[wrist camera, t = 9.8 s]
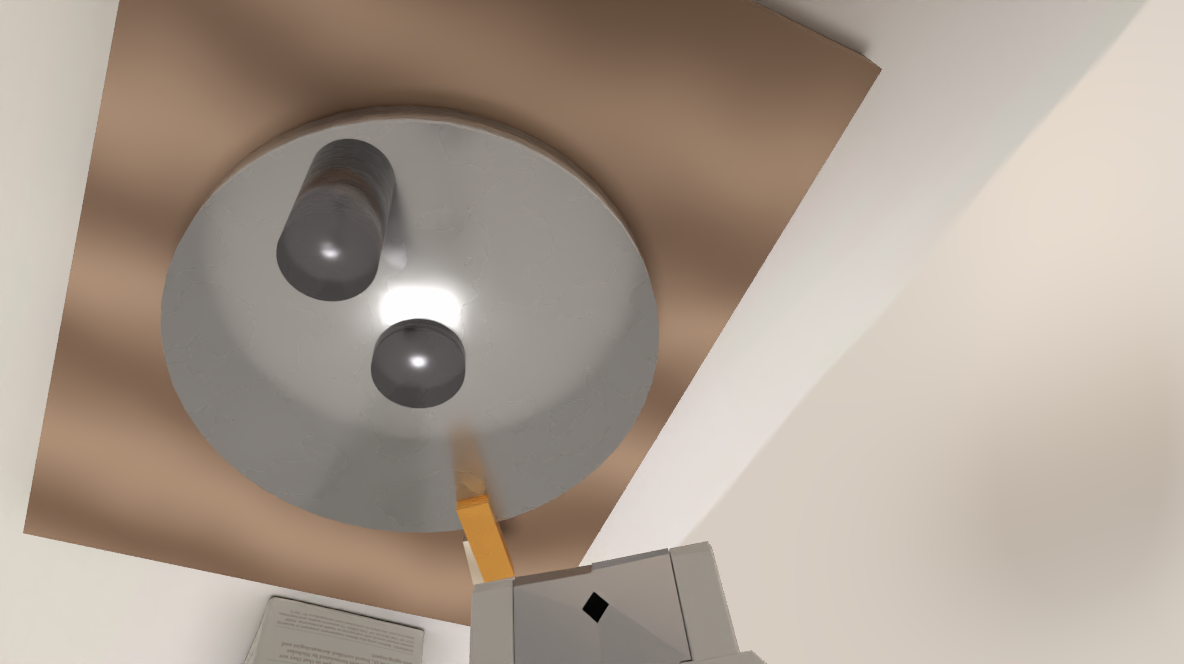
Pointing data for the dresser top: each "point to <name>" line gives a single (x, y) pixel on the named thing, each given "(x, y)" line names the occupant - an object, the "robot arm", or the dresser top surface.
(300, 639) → the supplement box
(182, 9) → the base board
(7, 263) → the dresser top surface
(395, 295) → the dial
